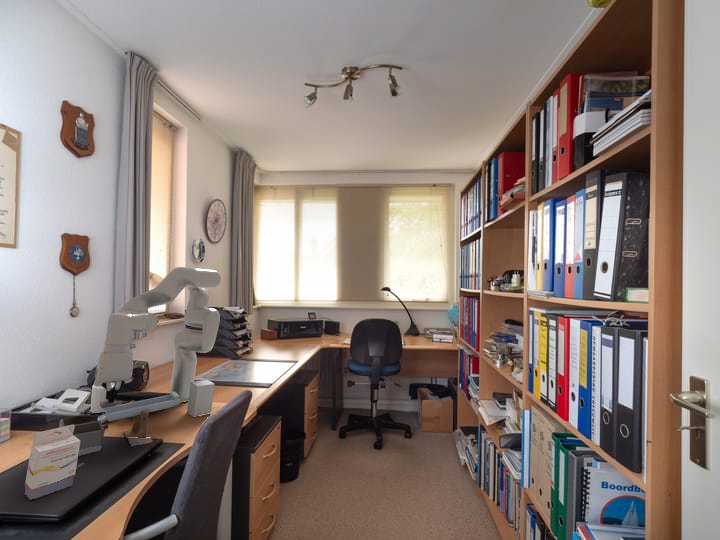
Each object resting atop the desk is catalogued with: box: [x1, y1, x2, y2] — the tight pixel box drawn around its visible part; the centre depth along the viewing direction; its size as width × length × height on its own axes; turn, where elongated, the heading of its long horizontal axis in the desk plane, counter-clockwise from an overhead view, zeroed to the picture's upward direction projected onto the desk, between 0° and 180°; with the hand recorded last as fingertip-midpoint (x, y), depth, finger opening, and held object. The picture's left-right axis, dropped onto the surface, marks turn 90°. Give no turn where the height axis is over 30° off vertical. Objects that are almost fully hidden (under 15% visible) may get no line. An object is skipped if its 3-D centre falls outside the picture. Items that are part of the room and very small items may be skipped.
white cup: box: [90, 382, 115, 414], centre depth 131 cm, size 8×8×10 cm
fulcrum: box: [123, 410, 151, 438], centre depth 114 cm, size 6×12×10 cm, turn 46°
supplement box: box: [186, 379, 216, 418], centre depth 139 cm, size 7×7×13 cm
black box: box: [115, 390, 170, 420], centre depth 135 cm, size 18×9×20 cm
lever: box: [100, 391, 181, 422], centre depth 117 cm, size 21×15×4 cm
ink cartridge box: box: [24, 424, 80, 490], centre depth 84 cm, size 9×5×15 cm, turn 150°
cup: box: [57, 418, 106, 450], centre depth 103 cm, size 10×8×9 cm
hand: (110, 400), depth 116 cm, fingers closed
